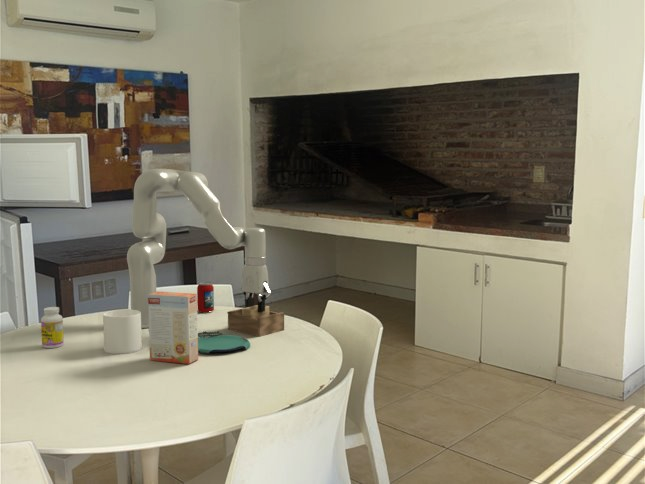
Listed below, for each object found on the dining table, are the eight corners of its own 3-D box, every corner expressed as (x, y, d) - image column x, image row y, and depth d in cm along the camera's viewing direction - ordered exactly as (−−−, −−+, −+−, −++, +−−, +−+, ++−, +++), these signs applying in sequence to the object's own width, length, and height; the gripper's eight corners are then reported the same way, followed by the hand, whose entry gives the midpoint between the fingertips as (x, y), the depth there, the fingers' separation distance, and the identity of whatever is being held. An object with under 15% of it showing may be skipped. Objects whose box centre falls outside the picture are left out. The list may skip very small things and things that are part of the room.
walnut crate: (259, 336, 219) (259, 318, 219) (227, 329, 230) (227, 311, 229) (284, 329, 229) (284, 312, 229) (252, 322, 240) (252, 306, 239)
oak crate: (252, 326, 224) (251, 310, 224) (242, 324, 228) (242, 308, 227) (269, 322, 231) (269, 306, 231) (260, 320, 235) (259, 304, 234)
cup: (149, 346, 207) (148, 311, 205) (124, 355, 196) (123, 318, 195) (122, 342, 212) (120, 308, 210) (96, 351, 201) (95, 315, 200)
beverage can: (210, 313, 256) (209, 285, 255) (195, 313, 257) (194, 284, 256) (216, 310, 263) (215, 282, 261) (201, 309, 264) (200, 281, 263)
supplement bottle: (37, 347, 206) (35, 309, 204) (53, 342, 212) (52, 305, 210) (52, 349, 203) (50, 311, 201) (68, 344, 209) (66, 307, 207)
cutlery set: (198, 359, 193) (198, 352, 193) (173, 338, 220) (173, 332, 219) (258, 351, 202) (258, 344, 202) (227, 332, 229) (227, 326, 229)
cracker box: (199, 359, 192) (197, 292, 190) (189, 365, 187) (187, 296, 184) (160, 355, 197) (158, 290, 195) (149, 360, 191) (147, 293, 189)
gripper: (231, 260, 230) (232, 309, 232) (264, 264, 219) (265, 315, 221) (246, 258, 235) (247, 305, 237) (279, 262, 225) (279, 312, 227)
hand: (255, 310), depth 229 cm, fingers closed on oak crate, 5 cm apart
